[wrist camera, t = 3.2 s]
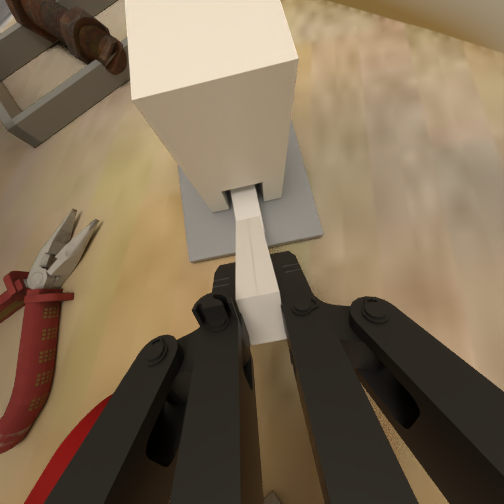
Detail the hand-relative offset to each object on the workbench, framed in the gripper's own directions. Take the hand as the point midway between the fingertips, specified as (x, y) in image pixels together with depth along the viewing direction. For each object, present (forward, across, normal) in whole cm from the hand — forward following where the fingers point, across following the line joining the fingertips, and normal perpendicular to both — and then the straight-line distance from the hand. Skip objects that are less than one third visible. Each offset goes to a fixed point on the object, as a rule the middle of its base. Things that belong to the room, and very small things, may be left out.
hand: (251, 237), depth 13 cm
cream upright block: (+8, 0, +2) cm, 9 cm away
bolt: (+25, -16, +17) cm, 34 cm away
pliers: (+3, -21, -6) cm, 22 cm away
